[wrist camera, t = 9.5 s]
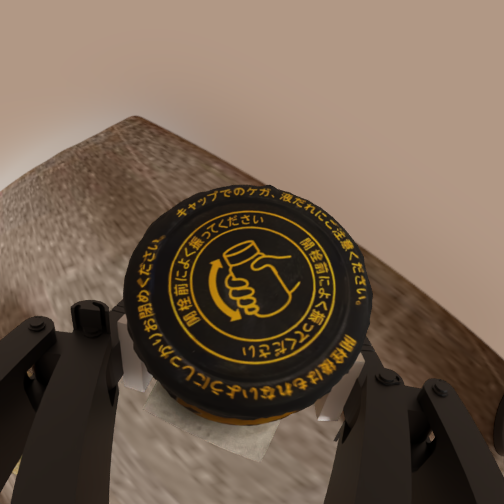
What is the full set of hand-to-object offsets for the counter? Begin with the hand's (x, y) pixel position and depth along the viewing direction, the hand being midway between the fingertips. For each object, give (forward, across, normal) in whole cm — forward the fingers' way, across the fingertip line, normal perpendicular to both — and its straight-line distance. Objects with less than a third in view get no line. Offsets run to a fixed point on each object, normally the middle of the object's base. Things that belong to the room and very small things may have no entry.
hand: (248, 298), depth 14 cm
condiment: (0, 0, -5) cm, 5 cm away
